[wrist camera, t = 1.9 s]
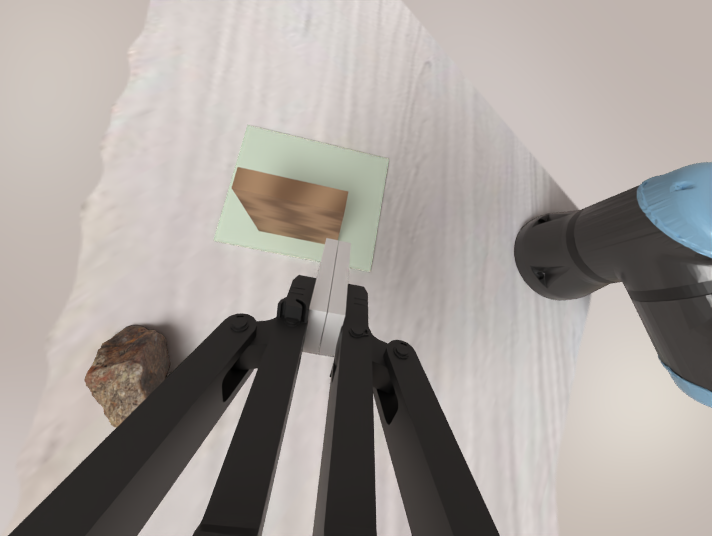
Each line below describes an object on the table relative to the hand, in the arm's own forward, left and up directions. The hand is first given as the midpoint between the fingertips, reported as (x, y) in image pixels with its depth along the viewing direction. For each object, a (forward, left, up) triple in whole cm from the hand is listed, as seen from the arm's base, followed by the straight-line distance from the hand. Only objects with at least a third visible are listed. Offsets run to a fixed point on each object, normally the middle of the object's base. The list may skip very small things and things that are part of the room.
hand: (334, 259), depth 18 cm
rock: (+22, +15, -26) cm, 37 cm away
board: (+6, -9, -25) cm, 27 cm away
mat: (+6, -15, -26) cm, 30 cm away
